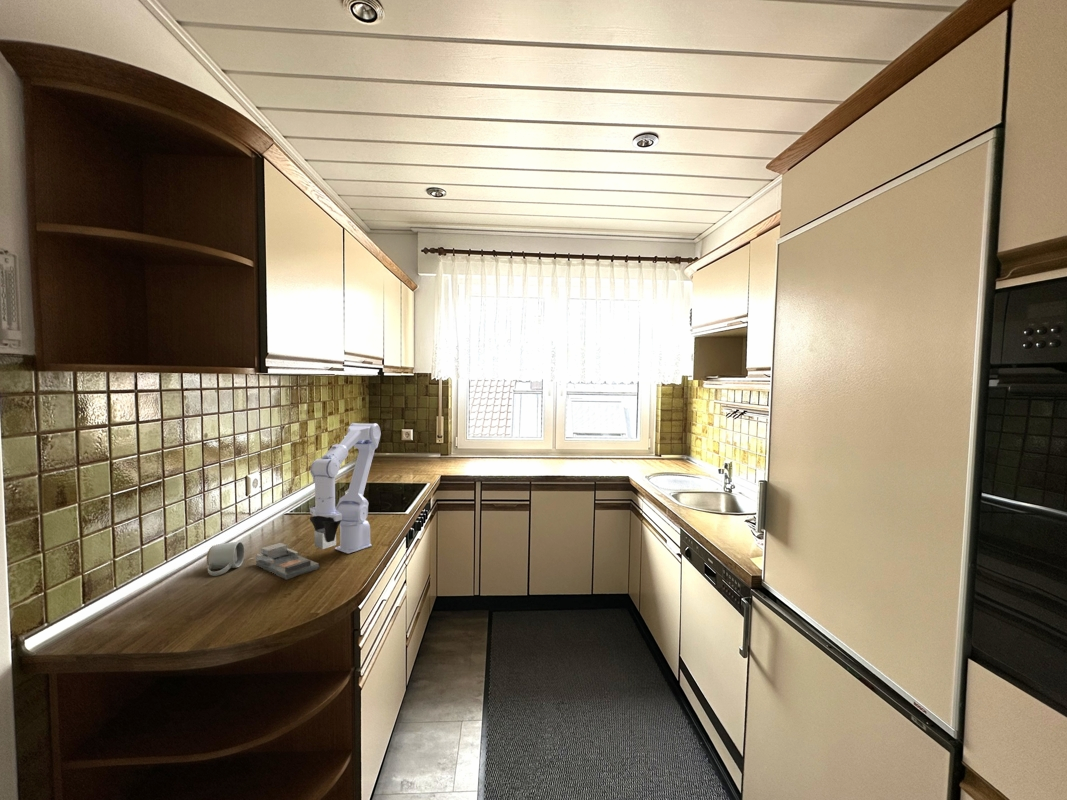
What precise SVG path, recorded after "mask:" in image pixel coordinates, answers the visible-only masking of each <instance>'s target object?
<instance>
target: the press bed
mask: <svg viewBox="0 0 1067 800" xmlns="http://www.w3.org/2000/svg"><path fill="white" fill-rule="evenodd" d="M255 557H256V563H255V564H256V565H257V566H256V567H258V566H259V568H260V567H261V569H262V568H263V570H265V571H267V572H269V573H271V572H272V573H271V574H273V573H274V574H273V575H275V574H276V575H275V576H278V577H280V578H282V579H284V580H290V579H293V578H296V577H298V576H301V575H304V574H307V573H310V572H312V571H315V570H318V569H320V563H319V562H316V561H313V560H311V559H308V558H306V557H303V556H301V555H299V552H298V551H296V550H294V549H291V548H288V547H287V554H286V555H283V556H280V557H276V558H273V559H271V558H269V557H266V556H264V555H262V554H261V553H257V554H256V556H255Z"/></svg>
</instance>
